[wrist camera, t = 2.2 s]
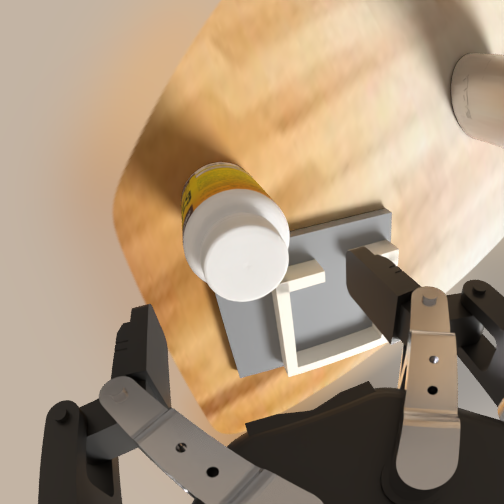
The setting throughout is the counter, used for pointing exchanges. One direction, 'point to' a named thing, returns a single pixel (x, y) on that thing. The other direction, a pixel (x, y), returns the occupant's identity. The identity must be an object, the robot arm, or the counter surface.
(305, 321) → the grey board with frame
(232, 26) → the counter surface
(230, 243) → the supplement bottle
